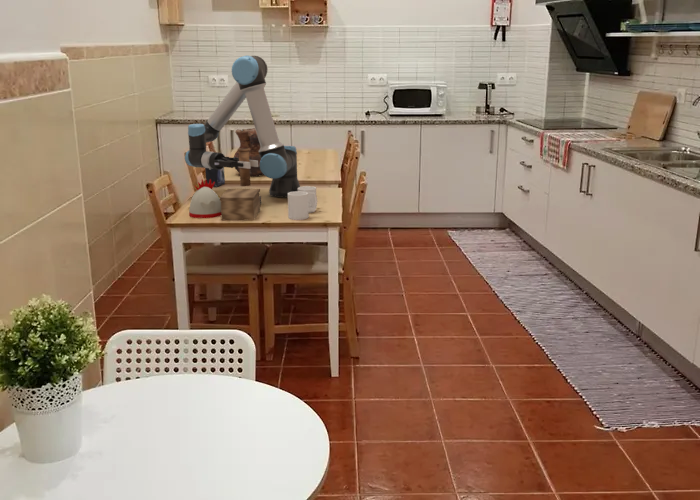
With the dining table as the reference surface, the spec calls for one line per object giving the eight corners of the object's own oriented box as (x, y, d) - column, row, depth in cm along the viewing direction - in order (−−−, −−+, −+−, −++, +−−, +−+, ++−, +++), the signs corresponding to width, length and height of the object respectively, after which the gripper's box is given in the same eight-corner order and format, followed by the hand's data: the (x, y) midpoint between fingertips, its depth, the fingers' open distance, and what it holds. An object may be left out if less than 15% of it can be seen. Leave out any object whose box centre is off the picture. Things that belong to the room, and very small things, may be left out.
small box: (218, 187, 347) (216, 166, 345) (205, 187, 349) (204, 166, 346) (225, 183, 357) (224, 163, 354) (213, 183, 359) (212, 163, 356)
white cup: (301, 214, 289) (301, 190, 286) (295, 210, 296) (294, 187, 293) (319, 212, 292) (319, 188, 289) (312, 208, 299) (312, 185, 296)
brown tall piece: (252, 184, 308) (250, 147, 303) (250, 186, 303) (248, 149, 298) (240, 184, 308) (238, 148, 304) (238, 186, 303) (236, 149, 299)
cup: (319, 218, 280) (318, 194, 278) (289, 220, 278) (288, 195, 275) (316, 214, 288) (315, 190, 285) (287, 215, 286) (286, 191, 283)
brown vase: (226, 174, 384) (224, 128, 377) (258, 170, 397) (255, 125, 390) (250, 179, 368) (247, 132, 361) (281, 174, 382) (279, 128, 375)
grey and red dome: (225, 216, 286) (223, 180, 282) (191, 219, 281) (189, 183, 277) (220, 209, 298) (218, 175, 294) (187, 212, 294) (184, 177, 290)
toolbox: (265, 202, 311) (264, 182, 309) (254, 219, 279) (253, 197, 277) (235, 202, 311) (234, 182, 309) (220, 220, 279) (219, 197, 277)
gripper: (227, 166, 320) (267, 170, 308) (200, 171, 306) (240, 176, 294) (226, 149, 318) (266, 153, 306) (199, 154, 304) (239, 158, 292)
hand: (253, 164), depth 300 cm, fingers closed on brown tall piece, 4 cm apart
